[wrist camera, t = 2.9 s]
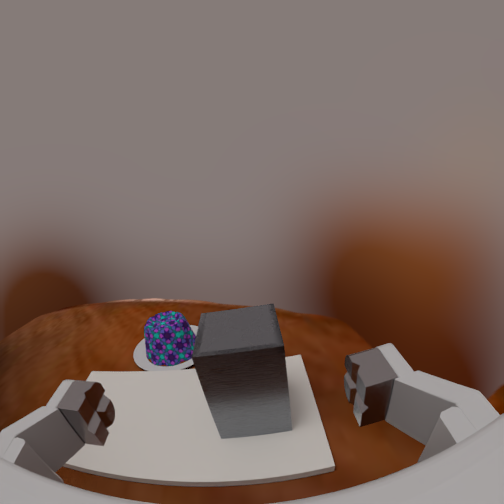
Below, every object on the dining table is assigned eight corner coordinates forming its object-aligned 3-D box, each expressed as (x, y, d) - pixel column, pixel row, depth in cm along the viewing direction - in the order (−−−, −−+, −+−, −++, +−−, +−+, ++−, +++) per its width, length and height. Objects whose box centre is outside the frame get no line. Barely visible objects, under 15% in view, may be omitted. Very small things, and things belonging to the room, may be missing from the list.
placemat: (49, 462, 17) (44, 456, 17) (94, 376, 32) (91, 371, 32) (334, 470, 17) (335, 465, 17) (301, 360, 33) (300, 354, 32)
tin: (292, 430, 22) (284, 345, 19) (221, 438, 22) (191, 357, 19) (283, 385, 28) (273, 303, 25) (223, 392, 28) (201, 313, 25)
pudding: (168, 389, 31) (154, 356, 29) (121, 356, 38) (109, 327, 36) (231, 341, 39) (224, 309, 38) (177, 322, 47) (170, 294, 45)
